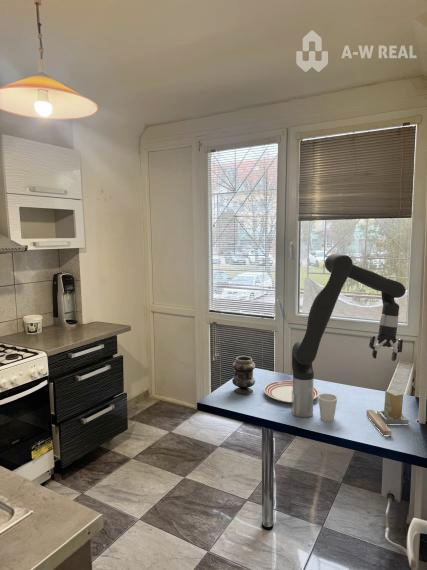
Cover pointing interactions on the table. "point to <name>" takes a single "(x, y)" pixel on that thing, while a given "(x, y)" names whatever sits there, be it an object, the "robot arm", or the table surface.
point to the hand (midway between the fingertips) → (383, 359)
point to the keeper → (392, 421)
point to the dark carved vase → (243, 375)
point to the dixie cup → (327, 406)
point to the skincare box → (393, 404)
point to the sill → (378, 422)
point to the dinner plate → (283, 391)
